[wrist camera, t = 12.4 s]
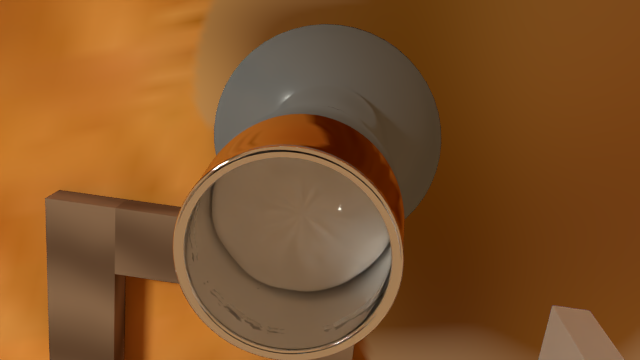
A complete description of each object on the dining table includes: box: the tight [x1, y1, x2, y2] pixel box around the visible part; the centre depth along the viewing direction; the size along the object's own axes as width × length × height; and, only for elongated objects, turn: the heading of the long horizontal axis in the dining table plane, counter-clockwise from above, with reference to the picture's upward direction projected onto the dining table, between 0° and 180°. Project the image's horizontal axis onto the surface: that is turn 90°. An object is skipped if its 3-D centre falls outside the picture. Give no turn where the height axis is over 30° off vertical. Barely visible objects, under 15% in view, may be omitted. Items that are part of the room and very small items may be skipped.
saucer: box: [214, 24, 441, 219], centre depth 31 cm, size 12×12×1 cm
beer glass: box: [173, 85, 405, 360], centre depth 23 cm, size 7×7×15 cm
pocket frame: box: [45, 190, 354, 360], centre depth 35 cm, size 18×18×2 cm
